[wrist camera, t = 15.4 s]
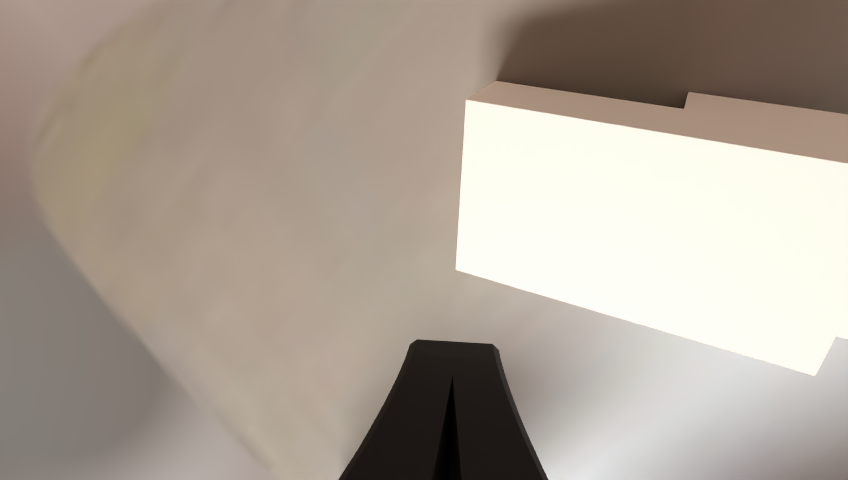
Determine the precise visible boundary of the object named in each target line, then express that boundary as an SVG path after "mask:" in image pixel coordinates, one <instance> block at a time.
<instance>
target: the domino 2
mask: <svg viewBox="0 0 848 480" xmlns="http://www.w3.org/2000/svg"><path fill="white" fill-rule="evenodd" d="M684 109H687V110H694V111H700V112H707V113H714V114H720V115H727V116H734V117H740V118H747V119H754V120H760V121H767V122H774V123H780V124H787V125H794V126H800V127H807V128H814V129H820V130H827V131H834V132H840V133H847V134H848V114H841V113H834V112H827V111H820V110H813V109H806V108H799V107H792V106H785V105H778V104H771V103H764V102H757V101H750V100H742V99H735V98H728V97H721V96H714V95H707V94H700V93H693V92H688V95H687V99H686V103H685V106H684ZM837 336H838V337H841V338H845V339H848V315H847V317H846V319H845V320H844V322H843V324H842V326H841V328H840V330H839V332H838V334H837Z"/></svg>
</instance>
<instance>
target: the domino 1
mask: <svg viewBox="0 0 848 480" xmlns="http://www.w3.org/2000/svg"><path fill="white" fill-rule="evenodd" d="M456 270H458V271H462V272H465V273H468V274H472V275H475V276H479V277H482V278H485V279H489V280H492V281H496V282H499V283H502V284H506V285H509V286H512V287H516V288H519V289H523V290H526V291H529V292H533V293H536V294H539V295H543V296H546V297H550V298H553V299H556V300H560V301H563V302H566V303H570V304H573V305H577V306H580V307H583V308H587V309H590V310H593V311H597V312H600V313H604V314H607V315H610V316H614V317H617V318H620V319H624V320H627V321H631V322H634V323H637V324H641V325H644V326H647V327H651V328H654V329H658V330H661V331H664V332H668V333H671V334H675V335H678V336H681V337H685V338H688V339H691V340H695V341H698V342H702V343H705V344H708V345H712V346H715V347H718V348H722V349H725V350H729V351H732V352H735V353H739V354H742V355H745V356H749V357H752V358H756V359H759V360H762V361H766V362H769V363H772V364H776V365H779V366H783V367H786V368H789V369H793V370H796V371H799V372H803V373H806V374H810V375H813V376H815V375H816V373H817V371H818V369H819V368H820V366H821V364H822V362H823V360H824V358H825V356H826V354H827V352H828V351H829V349H830V347H831V345H832V343H833V341H834V339H835V337H836V336H837V334H838V332H839V330H840V328H841V326H842V324H843V322H844V320H845V319H846V317H847V315H848V134H847V133H840V132H834V131H827V130H820V129H814V128H807V127H800V126H794V125H787V124H780V123H774V122H767V121H760V120H754V119H747V118H740V117H734V116H727V115H720V114H714V113H707V112H700V111H694V110H687V109H680V108H674V107H667V106H660V105H654V104H647V103H640V102H634V101H627V100H620V99H613V98H607V97H600V96H593V95H587V94H580V93H573V92H567V91H560V90H553V89H547V88H540V87H533V86H527V85H520V84H513V83H507V82H500V81H494V82H492V83H491V84H489V85H488V86H486V87H485V88H483V89H482V90H480V91H479V92H477V93H476V94H474V95H473V96H471V97H469V98H468V99H466V109H465V125H464V142H463V158H462V175H461V191H460V207H459V224H458V240H457V257H456Z"/></svg>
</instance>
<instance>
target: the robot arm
mask: <svg viewBox="0 0 848 480" xmlns="http://www.w3.org/2000/svg"><path fill="white" fill-rule="evenodd" d="M339 480H548V478H547V476H546V474H545V472H544V470H543V468H542V465H541V463H540V461H539V459H538V457H537V454H536V452H535V450H534V448H533V446H532V443H531V441H530V439H529V437H528V434H527V432H526V430H525V428H524V425H523V423H522V420H521V418H520V415H519V413H518V410H517V408H516V405H515V402H514V400H513V397H512V394H511V392H510V389H509V386H508V383H507V380H506V377H505V373H504V370H503V366H502V363H501V359H500V354H499V350H498V349H497V348H496V347H495V346H494V345H493V344H483V343H466V342H450V341H433V340H416V341H414V342H413V343H411V344H410V346H409V349H408V352H407V355H406V358H405V360H404V363H403V365H402V368H401V370H400V372H399V374H398V377H397V379H396V381H395V383H394V385H393V387H392V389H391V391H390V393H389V395H388V397H387V399H386V401H385V403H384V405H383V407H382V408H381V410H380V412H379V414H378V415H377V417H376V419H375V421H374V423H373V424H372V426H371V428H370V430H369V431H368V433H367V435H366V437H365V438H364V440H363V442H362V444H361V445H360V447H359V449H358V450H357V452H356V453H355V455H354V457H353V458H352V460H351V461H350V463H349V464H348V466H347V467H346V469H345V470H344V472H343V473H342V475H341V477H340V478H339Z"/></svg>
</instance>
